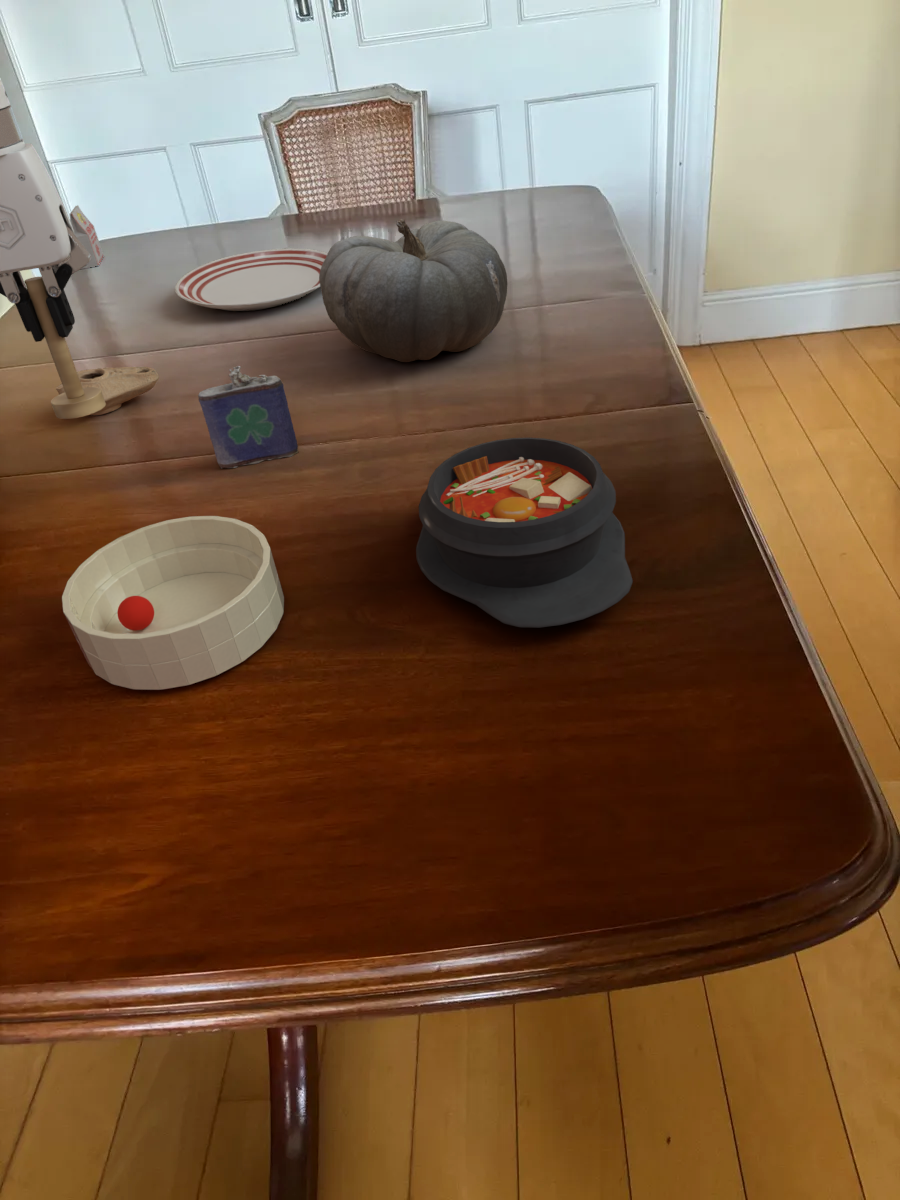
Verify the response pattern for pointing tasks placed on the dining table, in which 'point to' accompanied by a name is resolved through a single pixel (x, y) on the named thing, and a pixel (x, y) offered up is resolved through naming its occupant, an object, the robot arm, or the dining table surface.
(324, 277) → the gourd
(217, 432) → the flask
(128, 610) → the red ball
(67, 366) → the wooden potato masher
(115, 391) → the pottery oil lamp
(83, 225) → the white milk carton
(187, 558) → the bowl
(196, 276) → the dinner plate
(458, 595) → the casserole
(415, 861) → the dining table surface
